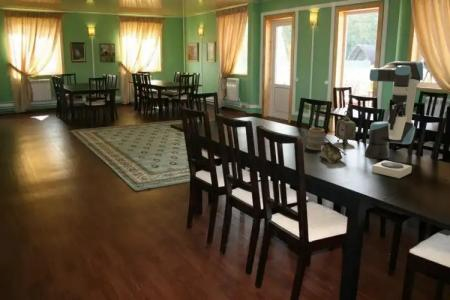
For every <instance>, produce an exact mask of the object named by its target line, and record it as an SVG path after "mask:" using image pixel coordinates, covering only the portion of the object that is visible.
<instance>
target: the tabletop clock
mask: <svg viewBox="0 0 450 300" xmlns="http://www.w3.org/2000/svg"><path fill="white" fill-rule="evenodd" d="M346 112H347V113H348V114H346ZM343 114H344V117H343V119H338V120H336V125H335V137H336V138H337V140H336V142H337V143H339V142H340V140H342V141H344V145H345V146H346V145H347V144H348V143H349V140H350V141H351V140H352V141H353V140H354V139H355V138H356V132H357V124H356V123H355V122H354V121H353V120H351V118H350V111H348V110H345V111H344V113H343Z"/></svg>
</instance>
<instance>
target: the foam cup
mask: <svg viewBox="0 0 450 300" xmlns="http://www.w3.org/2000/svg"><path fill="white" fill-rule="evenodd" d="M389 116H390V114H389V115H388V117H387V121H388V120H389ZM406 119H407V116H402V117H399V116H398V115H397V117H396V121H395V132H394V136H391V135H389V139H393V140H401V137H402V134H403V130H404V126H405V122H406ZM388 126H389V128H390V124H388Z"/></svg>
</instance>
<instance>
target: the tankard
mask: <svg viewBox="0 0 450 300" xmlns="http://www.w3.org/2000/svg"><path fill="white" fill-rule="evenodd" d="M307 135H308V138H307V142H308V143H307V144H306V145H305V147H306V149H307V150H312V151H321V145H322V144H323V142H325V141H326V140H325V139H324V137H325V136H326V133H325V129H324V128H320V127H315V125H314V124H311V126H310V128H309V129H308V131H307ZM325 138H326V137H325Z"/></svg>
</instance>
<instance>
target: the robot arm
mask: <svg viewBox="0 0 450 300" xmlns="http://www.w3.org/2000/svg"><path fill="white" fill-rule="evenodd" d="M369 80H370V81H371V82H388V83H393V89H392V98H391V100H392V101H391V102H394V103H393V104H391V106H390V112H389V115H390V116H389V120H388V119H387V121H374V122H371V124H370V128H369V137H368V145H367V146H366V149H365V151H364V156H365V157H367V158H369V159H374V160H375V159H376V160H386V159H389V158H390V157H389V156H390V153H389V149H388V143H392V144H400V145H409V144H411V143H412V141H413V139H414V136H415V131H416V126H414V122H412V118H413V112H414V105H415V99H416V94H417V87H418V85H419V84H420V83H421V81H423V80H424V63H423V62H421V61H415V60H414V61H410V60H409V61H408V60H407V61H406V60H405V61H404V60H402V61H401V60H396V61H391V62H388V63H385V64H383V65H382V66H381V67H380V68H379V67H374V68H373V67H372V68H371V69H370V72H369ZM397 115H398V116H399V117H402V116H407V119H406V122H405V126H404V130H403V134H402V137H401V140H393V139H389V135H391V136H394V132H395V121H396V117H397ZM388 124H390V128H389V126H388Z"/></svg>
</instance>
